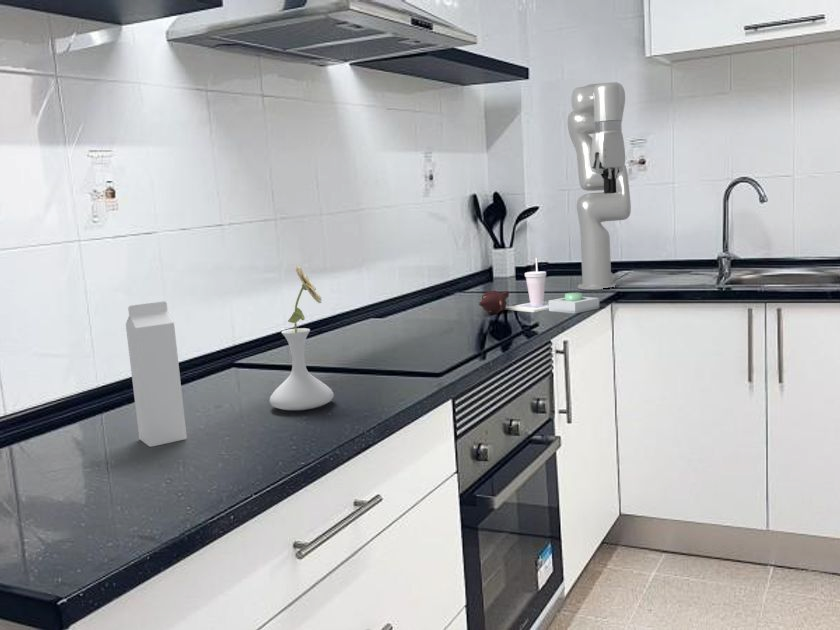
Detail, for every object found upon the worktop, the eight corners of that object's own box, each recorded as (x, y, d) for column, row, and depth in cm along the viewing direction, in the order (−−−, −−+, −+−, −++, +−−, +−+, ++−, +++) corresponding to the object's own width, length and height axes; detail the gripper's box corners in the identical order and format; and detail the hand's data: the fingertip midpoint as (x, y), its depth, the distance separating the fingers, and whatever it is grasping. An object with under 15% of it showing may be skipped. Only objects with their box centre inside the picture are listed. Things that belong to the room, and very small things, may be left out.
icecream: (493, 295, 235) (519, 292, 247) (471, 288, 239) (498, 286, 251) (488, 319, 236) (514, 315, 248) (466, 312, 240) (493, 308, 252)
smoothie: (541, 306, 246) (538, 258, 244) (521, 306, 250) (519, 258, 248) (551, 303, 251) (549, 256, 249) (532, 303, 255) (530, 256, 253)
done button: (573, 304, 244) (572, 292, 244) (586, 305, 240) (585, 293, 240) (561, 306, 241) (561, 294, 241) (574, 308, 237) (574, 295, 237)
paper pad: (538, 303, 259) (538, 300, 259) (567, 305, 249) (567, 303, 249) (505, 309, 250) (504, 307, 250) (534, 312, 241) (533, 309, 241)
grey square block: (572, 306, 248) (572, 296, 247) (599, 308, 240) (599, 298, 239) (548, 310, 242) (548, 300, 241) (575, 313, 234) (574, 302, 234)
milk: (139, 439, 136) (122, 304, 133) (176, 431, 140) (160, 299, 137) (149, 447, 131) (132, 307, 128) (188, 439, 135) (171, 302, 131)
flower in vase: (320, 416, 143) (307, 269, 140) (259, 415, 146) (245, 271, 143) (347, 396, 156) (336, 261, 152) (290, 396, 159) (278, 264, 155)
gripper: (614, 129, 248) (616, 192, 251) (580, 129, 239) (582, 195, 242) (635, 126, 242) (637, 191, 245) (600, 127, 233) (603, 194, 236)
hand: (610, 193), depth 243 cm, fingers closed
